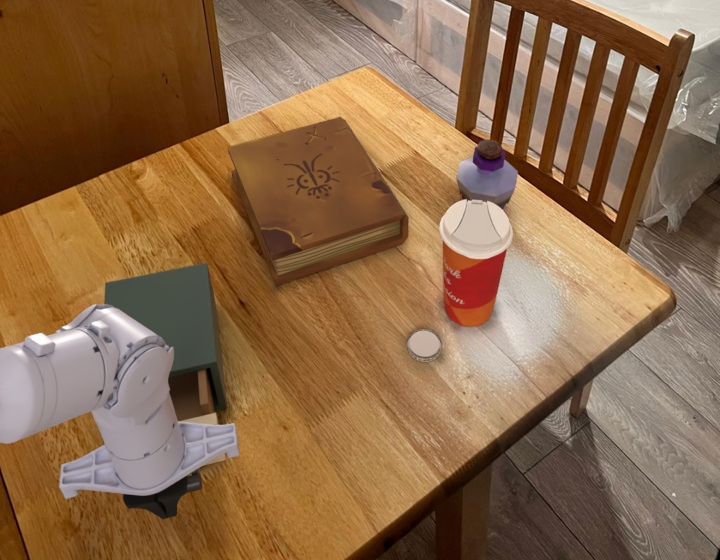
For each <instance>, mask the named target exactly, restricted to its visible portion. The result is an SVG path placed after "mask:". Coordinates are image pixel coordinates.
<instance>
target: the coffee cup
mask: <svg viewBox="0 0 720 560" xmlns="http://www.w3.org/2000/svg"><path fill="white" fill-rule="evenodd" d="M438 227H439V235H440V238H441V240H442V285H443V286H442V288H443V289H442V290H443V291H442V292H443V306H444V311H445V313H446V315H447V316H448V318H449V319H450V320H451V321H452V322H453V323H455V324H457V325H459V326H462V327H467V328H474V327H480V326H482V325H484V324H485V323H487V322H488V321H489V320H490V318H491V316H492V315H493V313H494V312H493V311H494V308H495V304H496V300H497V296H498V291H499V287H500V283H501V279H502V273H503V270H504V264H505V260H506V255H507V252H508V248H509V247H510V246H511V243H512V241H513V237H514V230H513V225H512V224H511V222H510V219H509V217H508V214H507V213H506V212H505V211H504V210H502V209H501V208H500V207H499V206H497V205H496V204H494V203H492V202H489V201H487V203H486V202H482V200H472V201H468V202H467V199H465V200H463V199H460V200H459V201H457V202H455V203H453V204H451V206H450V207H449V208H447V211H445V213H444V214H443V216H442V217H441V219H440V221H439V226H438Z"/></svg>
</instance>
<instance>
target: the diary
mask: <svg viewBox="0 0 720 560" xmlns="http://www.w3.org/2000/svg"><path fill="white" fill-rule="evenodd" d="M227 152H228V155H229V157H230V160H231V162H232V165H233V167H234V169H232V170H230V171H231V176H232V179H233V181H234V184H235V186H236V189H237V191H238V193H239V196H240V199H241V202H242V204H243V206H244V209H245V212H246V214H247V216H248V219H249V221H250V225H251V226H252V230H253V232H254V235H255V237H256V239H257V242H258V244H259V247H260V249H261V252H262V255H263V257H264V260H265V262H266V265H267V267H268V269H269V272H270V275H271V277H272V280H273V282H274V285H275V286H279V285H282V284H285V283H288V282H291V281H294V280H297V279H299V278H300V279H301V278H303V277H306V276H309V275H313V274H315V273H319V272H321V271H324V270H327V269H330V268H333V267H336V266H339V265H342V264H345V263H348V262H352V261H354V260H357V259H360V258H363V257H367V256H370V255H372V254H375V253H379V252H381V251H385V250H388V249H390V248H394V247H397V246H400V245H402V244H403V245H404V243H405V242H406V241H407V240H408V238H409V219H410V218H409V216H408V214H407V212H406V210H405V209H404V207H403V206H402V205H401V203H400V202H399V200H398V198H397V197H396V195H395V193H394V192H393V191H392V189H391V188H390V186H389V185H388V183H387V181H386V179H384V177H383V176H382V174H381V172H380V171H379V170H378V168H377V166H376V165H375V163H374V162H373V160H372V159H371V157H370V155H369V154H368V152H367V151H366V149H365V148H364V146H363V145H362V144H361V141H360V140H359V138H358V137H357V135H356V134H355V133H354V131H353V129H352V128H351V126H350V125H349V123H348V122H347V121H346V119H344V118H343V117H342V116H337V117H335V118H331V119H327V120H323V121H319V122H316V123H312V124H308V125H304V126H301V127H297V128H293V129H289V130H285V131H281V132H278V133H274V134H271V135H267V136H263V137H259V138H255V139H251V140H248V141H244V142H240V143H236V144H234V145H229V146H227Z"/></svg>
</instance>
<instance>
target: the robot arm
mask: <svg viewBox="0 0 720 560" xmlns="http://www.w3.org/2000/svg"><path fill="white" fill-rule="evenodd" d="M173 360H174V348H173V347H171V348H170V349H169V346H167V345H166V343H165V341H164V340H163V338H161V337H160V336H158V335H157V334H155V333H154V332H152V331H151V330H149V329H148V328H146V327H145V326H143V325H142V324H140V323H139V322H137V321H136V320H134V319H133V318H131V317H130V316H128V315H127V314H125V313H124V312H122V311H121V310H119V309H117V308H114V307H113V306H111V305H108V304H104V303H101V304H98V303H94V304H92V305H90V306H88V307H87V308H85V309H84V310H82V311H81V312H80V313H79V314H78V315H77V316H75V317H74V318H73V320H72V321H70V322H69V323H67V324H66V325H62V326H60V327H59V329H58V330H56V331H55V332H54V333H51V334H48V335H46V334H44V333H43V332H39V333H34V334H31V335H27V336H26V337H25V338H24V341H22V342H18V343H14V344H11V345H7V346H4V347H0V444H6V445H9V444H14V443H16V442H19V441H20V440H21V441H22V440H23V439H26V438H29V437H32V436H33V435H36V434H39V433H40V432H44V431H46V430H48V429H51V428H54V427H56V426H59V425H61V424H63V423H65V422H68V421H70V420H73V419H75V418H78V417H81V416H83V415H85V414H88V413H91V414H92V417H93V419H94V421H95V424H96V426H97V429H98V431H99V434H100V436H101V439H102V441H103V443H104V444H103V445H101V446H98V448H96V449H94V450H92V451H90V452H88V453H86V454H85V455H83V456H81V457H79V458H77V459H75V460H72V461H68V462H66V463H65V462H64V463H62V464H61V465H60V476H59V485H58V488H59V490H60V491H61V494H62V495H63V498H64V499H65V500H66V499H70V498H75V497H77V496H78V495H79V493H80V490H83V491H94V492H103V493H114V494H122V499H123V504H124V505H125V506H126V508H127V509H129V510H130V509H141V510H144V511H148V512H150V513H152V514H154V515H155V516H157V517H158V518H160V519H161V520H162V521H163V520H166V519H170V518H175V517H177V515H178V504H179V501H180V499H182V497H183V496H185V495H186V494H187V493H186V490H187V484H188V482H187V476H189V475H191V473H192V472H193V471H195V470H196V469H198V470H199V469H200V468H201V467H204V466H206V465H205V464H206V463H208V462H209V461H211V460H213V459H214V458H216V457H218V456H220V455H221V454H223V453H225V455H226V458H228V459H232V458H235V457H239V456H241V453H240V444H239V443H240V442H239V435H238V431H237V426H236V423H235V422H232V423H226V424H219V425H210V424H199V423H189V422H178V420H177V417H176V414H175V410H174V407H173V403H172V400H171V397H170V393H169V391H170V388H169V384H168V377H169V373H170V371H171V368H172V365H173ZM203 465H204V466H203Z"/></svg>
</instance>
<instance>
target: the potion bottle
mask: <svg viewBox="0 0 720 560" xmlns="http://www.w3.org/2000/svg"><path fill="white" fill-rule="evenodd" d="M518 174H519V171H518V170H517V169H516V168H515V167H514V166H513V165H511V164H510V163H509V162H508V161H507V160H506V151H505V150H504V149H503V146H502V145H501V144H500V143H499V142H498V140H494V139H489V138H488V139H483V140H481V141H479V142H478V143H477V146H475V147H474V149H473V154H472V156H471V157H468V158H467V159H464V160H462V161H459V165H458V169H457V173H456V177H455V178H456V182H457V188H458V193H459V195H461V200H465V199H467V202H468V201H472V200H482V202H486V203H487V201H489V202H492V203H494V204H496V205H497V206H499V207H500V208H501V209H502V210H503V211H504V209H505V207H506V206H507V204H509V203H510V201H511V198H512V197H513V194H514V192H515V189H516V188H517V180H518Z"/></svg>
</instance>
